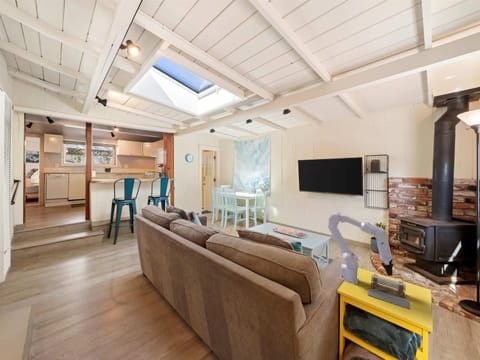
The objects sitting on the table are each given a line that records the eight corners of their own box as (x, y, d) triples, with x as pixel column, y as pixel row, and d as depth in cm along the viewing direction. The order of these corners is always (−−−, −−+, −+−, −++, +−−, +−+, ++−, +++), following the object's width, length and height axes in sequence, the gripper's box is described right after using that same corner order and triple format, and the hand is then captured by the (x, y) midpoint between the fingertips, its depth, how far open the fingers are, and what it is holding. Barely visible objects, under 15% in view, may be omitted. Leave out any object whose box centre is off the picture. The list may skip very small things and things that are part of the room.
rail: (371, 281, 120) (371, 276, 120) (371, 279, 123) (371, 274, 123) (405, 291, 111) (405, 286, 111) (404, 288, 113) (405, 283, 113)
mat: (367, 295, 112) (367, 294, 112) (368, 288, 119) (368, 287, 119) (409, 309, 102) (409, 308, 102) (407, 300, 108) (407, 300, 108)
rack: (370, 287, 119) (371, 277, 119) (371, 283, 124) (371, 273, 124) (405, 298, 110) (406, 287, 110) (404, 293, 115) (405, 282, 114)
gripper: (393, 253, 109) (399, 278, 108) (391, 245, 121) (397, 268, 120) (377, 253, 113) (383, 277, 112) (378, 245, 125) (383, 267, 124)
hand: (390, 272), depth 116 cm, fingers open, 7 cm apart
